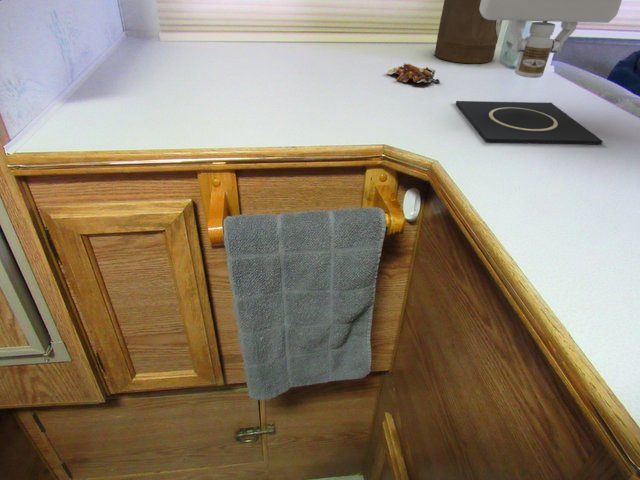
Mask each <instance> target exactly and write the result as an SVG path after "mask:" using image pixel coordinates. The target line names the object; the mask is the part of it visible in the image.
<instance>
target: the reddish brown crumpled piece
mask: <svg viewBox="0 0 640 480" xmlns="http://www.w3.org/2000/svg"><path fill="white" fill-rule="evenodd" d="M436 71H437V70H436V69H434V68H431V67H427V66H426V67H422V66H421V67H418V66H415V65H414V64H413V65H412V64H411V63H406V62H404V63H403V65H401V66H400V65H399V66H394V67H392V68H390V69H388V71H386V75H393V74H396V75H398V77H397V78H396V82H400V81H401V82H403V83H408V81H409V79H412V80H413V83H422V82H423V83H431V82H432V81H433V82H436V83H438V84H440V82H441V80H440V79H439V78H436V79H435V78H434V77H435V73H436Z"/></svg>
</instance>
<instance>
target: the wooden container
mask: <svg viewBox="0 0 640 480" xmlns="http://www.w3.org/2000/svg"><path fill="white" fill-rule="evenodd" d="M480 3H481V0H443V6H442V10H441V16H440V20H439V25H438V32H437V37H436V42H435V49H434V56H435V57H436V58H438V59H440V60H444V61H447V62H451V63H458V64H468V65H469V64H471V65H472V64H476V65H477V64H478V65H479V64H485V63H490V62H492V61H493V59H494V56H495V52H496V47H497V44H498V42H499V41H498V40H499V37H500V33H501V29H502V24H503V20H488V19H485V18H484V17H482V15H481V13H480Z"/></svg>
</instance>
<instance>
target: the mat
mask: <svg viewBox="0 0 640 480" xmlns="http://www.w3.org/2000/svg"><path fill="white" fill-rule="evenodd" d="M455 105H456V106H457V107H458V109H459V110H460V111H461V112H462V114H463V116H465V118H466V119H467V120H468V122H469V123H470V124H471V125H472V126H473V128H474V129H475V130H476V132H477V133H478V134H479V135H480V136H481V138H482V139H483V140H484V142H485V143H494V144H495V143H503V144H551V145H552V144H553V145H554V144H557V145H558V144H559V145H602V144H603V140H602V139H601V138H600V137H598V136H597V135H596V134H594V133H593V132H592V131H590V130H589V129H588V128H586V127H585V126H584V125H582V124H581V123H580V122H578V121H577V120H575V119H574V118H573V117H571V115H569V114H567V113H566V112H564V111H563V110H562V109H560V107H558V106H557V105H555V104H553V103H552V102H538V101H537V102H534V101H533V102H530V101H529V102H527V101H486V100H485V101H482V100H481V101H479V100H478V101H477V100H456V101H455Z"/></svg>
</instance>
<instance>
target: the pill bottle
mask: <svg viewBox="0 0 640 480" xmlns="http://www.w3.org/2000/svg"><path fill="white" fill-rule="evenodd" d="M555 28H556V23H553V22H549V21H531V24H530V27H529V32H528V33H529V35H528V36H527V37H525V38H524V39H525V40H527V45H526V46H525V51H524V52H519V55H518V58H517V63H516V66H515V69H514V73H515V75H517V76H520V77H524V78H530V79H537V78H538V79H539V78H542V76H543V75H544V73H545V69H546V68H547V67H546V66H547V63H548V60H549V58H550V54H551V53H550V51H551V48H552V45H553V41H552V40H551V39H552V38H551V36H553V34H554V31H555Z"/></svg>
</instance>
